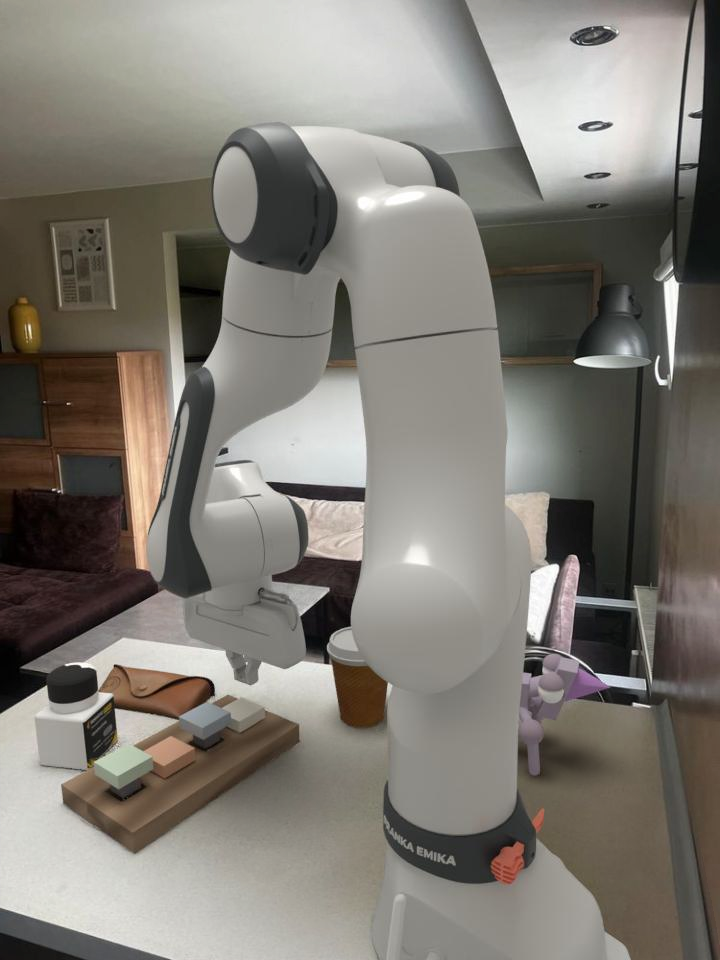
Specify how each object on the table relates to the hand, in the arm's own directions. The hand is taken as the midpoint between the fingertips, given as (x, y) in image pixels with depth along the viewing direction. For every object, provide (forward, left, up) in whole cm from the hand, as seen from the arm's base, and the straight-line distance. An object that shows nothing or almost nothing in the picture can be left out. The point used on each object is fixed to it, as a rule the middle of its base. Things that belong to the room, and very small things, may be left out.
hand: (246, 681), depth 93 cm
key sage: (+1, +19, -6) cm, 20 cm away
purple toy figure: (-32, -18, -9) cm, 38 cm away
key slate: (+1, +7, -6) cm, 9 cm away
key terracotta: (+1, +13, -8) cm, 15 cm away
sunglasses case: (+20, +1, -9) cm, 22 cm away
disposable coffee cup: (-9, -13, -9) cm, 18 cm away
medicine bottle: (+16, +16, -9) cm, 24 cm away
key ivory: (+1, +1, -8) cm, 8 cm away
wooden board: (+1, +10, -8) cm, 13 cm away
